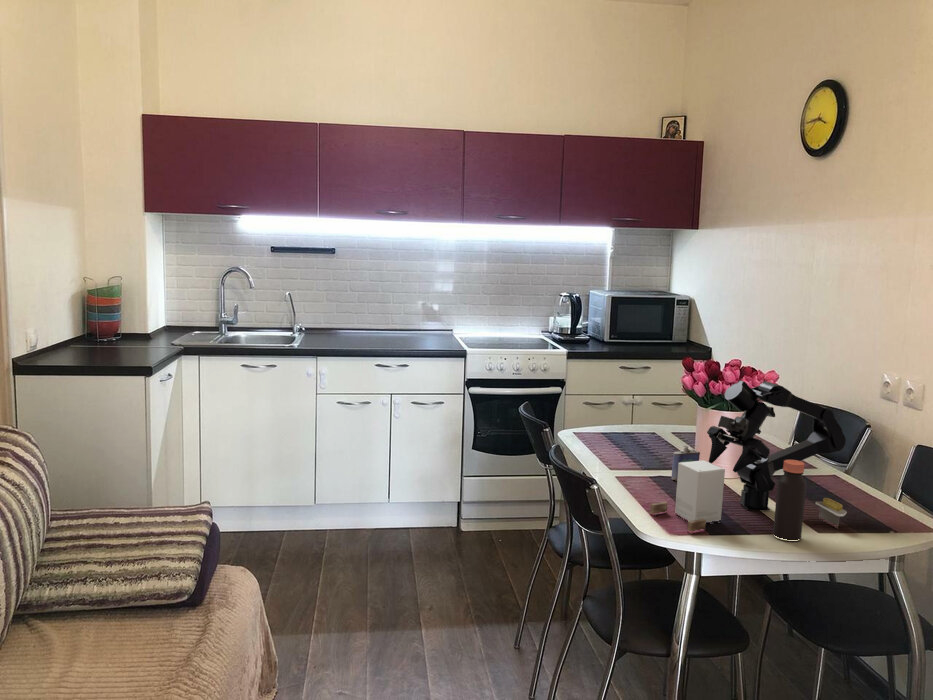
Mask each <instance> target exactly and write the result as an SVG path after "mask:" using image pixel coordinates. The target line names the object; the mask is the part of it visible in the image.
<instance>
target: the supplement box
mask: <svg viewBox="0 0 933 700" xmlns="http://www.w3.org/2000/svg"><path fill="white" fill-rule="evenodd" d="M725 473H726V469H725V468H723V467H720V466H718V465H716V464H714V463H712V464H711V463H709V461H706V460H699V461H692V462H681V463H678V479H677V481H676V492H675V493H676V496H675V509H674V510H675V512H674V514H675V513H677V514H678V515H680V516H681V517H683V518H685V519H687V520H688V521H693V520H698V519H704V520H706V522H712V521H719V520H721V519H722V511H723V510H722V509H723V498H724V484H725V475H726V474H725ZM721 521H722V520H721Z"/></svg>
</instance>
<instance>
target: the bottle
mask: <svg viewBox="0 0 933 700" xmlns="http://www.w3.org/2000/svg"><path fill="white" fill-rule="evenodd" d="M782 471H783V474H782V475H781V476H780V477H779V478H778V480H777V487H776V488H777V489H776V500H775V508H774V517H773V519H774V520H773V530H772V535H773V534H774V535H775V536H777V537H779V538H783V539H787V540H798V539H800V538H801V539H802V532H803V531H802V530H803V521H804V513H805V502H806V494H807V485H808V484H807V483H808V482H807V481H806V480H805V479H804V477H803V475H804V473H805V462H803V461H798V460H785V461H784V465H783V469H782ZM774 535H773V536H774ZM801 539H800V540H801Z"/></svg>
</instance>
